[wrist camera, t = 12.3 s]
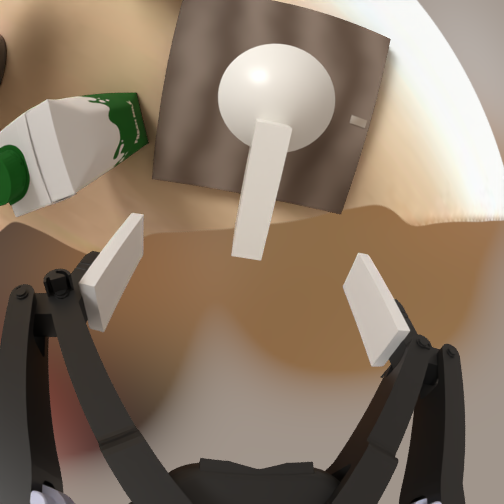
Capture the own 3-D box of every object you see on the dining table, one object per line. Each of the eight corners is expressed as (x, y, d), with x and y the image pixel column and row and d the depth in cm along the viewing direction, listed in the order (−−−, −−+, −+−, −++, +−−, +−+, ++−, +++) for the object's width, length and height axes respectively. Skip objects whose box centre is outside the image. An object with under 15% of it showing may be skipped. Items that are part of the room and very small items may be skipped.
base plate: (157, 174, 34) (151, 179, 32) (189, -4, 22) (185, -9, 20) (336, 208, 37) (341, 214, 35) (383, 41, 24) (390, 38, 23)
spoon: (232, 42, 19) (226, 28, 14) (333, 64, 20) (355, 58, 15) (203, 218, 28) (192, 249, 23) (290, 233, 29) (298, 266, 24)
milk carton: (84, 107, 29) (-31, 142, 12) (142, 83, 28) (34, 89, 11) (100, 165, 33) (1, 237, 16) (158, 147, 32) (69, 212, 15)
